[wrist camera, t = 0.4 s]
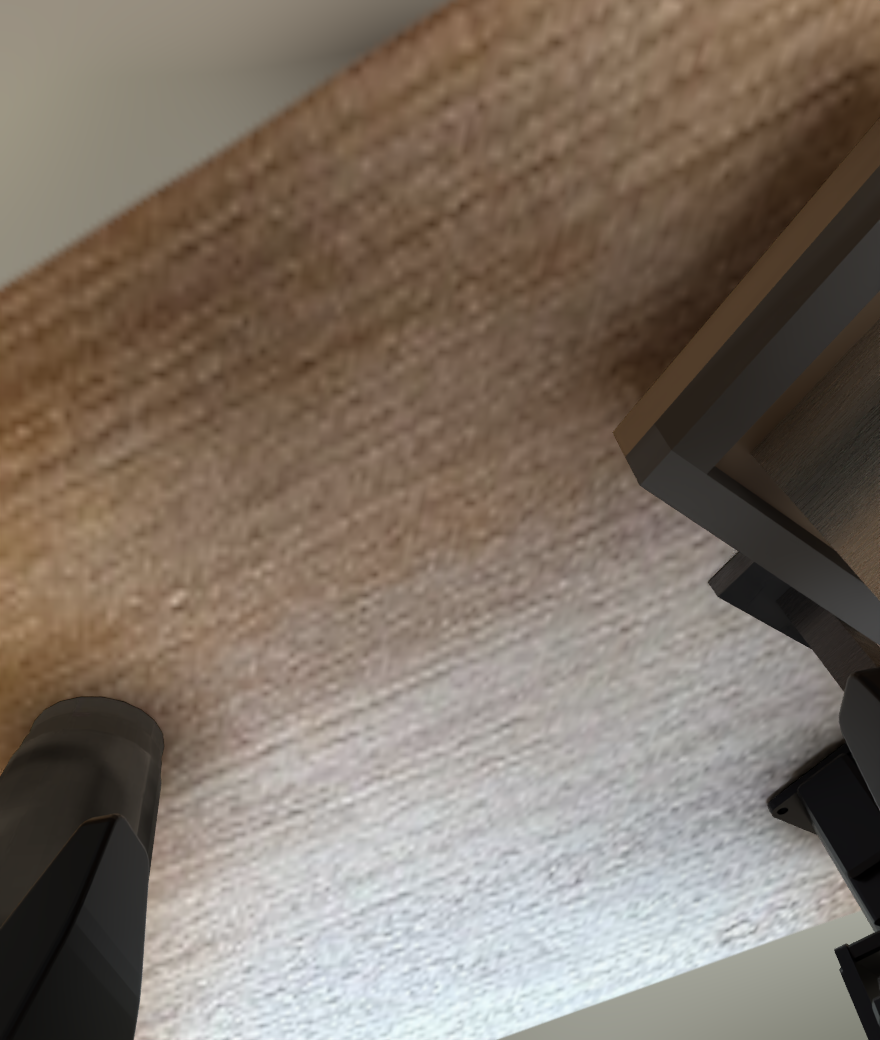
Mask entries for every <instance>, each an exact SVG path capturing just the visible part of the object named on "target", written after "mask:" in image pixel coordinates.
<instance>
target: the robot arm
mask: <svg viewBox="0 0 880 1040" xmlns="http://www.w3.org/2000/svg"><path fill="white" fill-rule="evenodd" d="M839 724H840V728H841V732H842V734H843V737H844V739H845V741H846V743H845V744H844V745H843V746H841V747H840V748H839V749H837V750H836V751H835V752H833V753H832V754H831V755H830V756H828V757H827V758H826V759H824V760H823V761H822V762H820V763H819V764H818V765H817V766H815V767H814V768H813V769H811V770H810V771H809V772H807V773H806V774H805V775H804V776H802V777H801V778H800V779H798V780H797V781H796V782H794V783H793V784H792V785H791V786H789V787H788V788H787V789H785V790H784V791H783V792H782V793H780V794H779V795H778V796H776V797H775V798H774V799H772V800H771V801H770V802H769V803H768V809H769V811H770V812H771V814H772V816H773V817H775V818H777V819H780V820H782V821H785V822H787V823H789V824H792V825H794V826H797V827H799V828H802V829H804V830H807V831H809V832H812V833H814V834H817V835H818V837H819V838H820V840H821V842H822V844H823V845H824V847H825V849H826V850H827V852H828V854H829V855H830V857H831V859H832V861H833V862H834V864H835V866H836V867H837V869H838V871H839V872H840V874H841V876H842V877H843V879H844V881H845V883H846V884H847V886H848V888H849V889H850V891H851V893H852V894H853V896H854V898H855V900H856V901H857V903H858V905H859V906H860V908H861V910H862V911H863V913H864V915H865V917H866V918H867V920H868V922H869V923H870V925H871V927H872V928H873V930H874V931H875V933H873V934H870V935H868V936H866V937H864V938H862V939H860V940H858V941H856V942H854V943H852V944H850V945H848V944H844V945H842V946H840V947H838V948H836V949H835V950H834V951H835V954H836V956H837V958H838V960H839V963H840V966H841V968H840V972H841V975H842V977H843V980H844V982H845V985H846V987H847V989H848V992H849V994H850V997H851V999H852V1001H853V1003H854V1006H855V1009H856V1011H857V1013H858V1016H859V1018H860V1021H861V1023H862V1025H863V1028H864V1030H865V1032H866V1035H867V1037H868V1040H880V667H876V668H870V669H865V670H860V671H855V672H853V673H852V674H851V675H850V676H849V677H848V679H847V683H846V687H845V692H844V696H843V700H842V704H841V709H840V713H839ZM148 881H149V859H148V855H147V851H146V849H145V847H144V846H143V844H142V843H141V841H140V840H139V838H138V837H137V835H136V834H135V832H134V830H133V829H132V827H131V826H130V824H129V823H128V821H127V820H126V818H125V817H124V816H122V815H120V814H110V815H104V816H99V817H94V818H91V819H88V820H86V821H85V822H83V823H82V824H81V825H80V826H79V827H78V829H77V830H76V831H75V832H74V834H73V835H72V836H71V838H70V839H69V840H68V841H67V843H66V844H65V845H64V846H63V848H62V849H61V850H60V852H59V853H58V854H57V855H56V857H55V858H54V859H53V861H52V862H51V863H50V864H49V866H48V867H47V868H46V870H45V871H44V872H43V873H42V875H41V876H40V877H39V878H38V880H37V881H36V882H35V884H34V885H33V886H32V887H31V889H30V890H29V891H28V893H27V894H26V895H25V896H24V898H23V899H22V900H21V902H20V903H19V904H18V905H17V907H16V908H15V909H14V910H13V912H12V913H11V914H10V916H9V917H8V918H7V919H6V921H5V922H4V923H3V925H2V926H1V927H0V1040H134V1035H135V1029H136V1023H137V1017H138V1010H139V1003H140V994H141V983H142V971H143V956H144V941H145V926H146V911H147V896H148Z"/></svg>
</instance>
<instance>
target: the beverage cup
mask: <svg viewBox="0 0 880 1040" xmlns="http://www.w3.org/2000/svg"><path fill="white" fill-rule="evenodd" d="M163 749H164V742H163V734H162V732H161V730H160V729H159V727H158V726H157V724H156V722H155V721H154V720H153V719H152V718H150V717H149V716H148V715H147V714H145V713H144V712H143V711H142V710H140V709H138V708H135V707H133V706H131V705H129V704H127V703H125V702H121V701H117V700H112V699H107V698H103V697H79V698H74V699H70V700H65V701H61V702H59V703H57V704H55V705H53V706H51V707H49V708H47V709H45V710H44V711H43V712H42V713H41V714H40V716H39V717H38V718H37V719H36V720H35V721H34V723H33V726H32V728H31V730H30V733H29V734H28V735H27V736H26V737H25V739H24V741H23V742H22V744H21V746H20V747H19V749H18V750H17V751H16V752H15V753H14V754H13V756H12V757H11V759H10V761H9V762H8V764H7V766H6V768H5V769H4V771H3V773H2V775H1V776H0V927H1V926H2V925H3V923H4V922H5V921H6V919H7V918H8V917H9V916H10V914H11V913H12V912H13V910H14V909H15V908H16V907H17V905H18V904H19V903H20V902H21V900H22V899H23V898H24V896H25V895H26V894H27V893H28V891H29V890H30V889H31V887H32V886H33V885H34V884H35V882H36V881H37V880H38V878H39V877H40V876H41V875H42V873H43V872H44V871H45V870H46V868H47V867H48V866H49V864H50V863H51V862H52V861H53V859H54V858H55V857H56V855H57V854H58V853H59V852H60V850H61V849H62V848H63V846H64V845H65V844H66V843H67V841H68V840H69V839H70V838H71V836H72V835H73V834H74V832H75V831H76V830H77V829H78V827H79V826H80V825H81V824H82V823H83V822H85V821H86V820H88V819H91V818H94V817H99V816H104V815H110V814H120V815H122V816H124V817H125V818H126V820H127V821H128V823H129V824H130V826H131V827H132V829H133V830H134V832H135V834H136V835H137V837H138V838H139V840H140V841H141V843H142V844H143V846H144V847H145V849H146V851H147V855H148V859H149V874H150V867H151V859H152V851H153V844H154V836H155V828H156V821H157V813H158V805H159V798H160V790H161V765H162V762H161V758H162V754H163ZM148 882H149V881H148Z"/></svg>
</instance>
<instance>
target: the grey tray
mask: <svg viewBox="0 0 880 1040" xmlns="http://www.w3.org/2000/svg"><path fill="white" fill-rule="evenodd" d="M879 319H880V118H879V119H878V120H877V121H876V122H875V124H874V125H873V126H872V127H871V128H870V130H869V131H868V132H867V133H866V134H865V135H864V137H863V138H862V139H861V140H860V141H859V142H858V144H857V145H856V146H855V147H854V148H853V150H852V151H851V152H850V153H849V154H848V155H847V157H846V158H845V159H844V160H843V161H842V163H841V164H840V165H839V166H838V167H837V168H836V170H835V171H834V172H833V173H832V174H831V175H830V177H829V178H828V179H827V180H826V181H825V183H824V184H823V185H822V186H821V187H820V188H819V190H818V191H817V192H816V193H815V194H814V195H813V197H812V198H811V199H810V200H809V201H808V203H807V204H806V205H805V206H804V207H803V208H802V210H801V211H800V212H799V213H798V214H797V216H796V217H795V218H794V219H793V220H792V221H791V223H790V224H789V225H788V226H787V227H786V228H785V230H784V231H783V232H782V233H781V234H780V236H779V237H778V238H777V239H776V240H775V241H774V243H773V244H772V245H771V246H770V247H769V249H768V250H767V251H766V252H765V253H764V254H763V256H762V257H761V258H760V259H759V260H758V261H757V263H756V264H755V265H754V266H753V267H752V269H751V270H750V271H749V272H748V273H747V274H746V276H745V277H744V278H743V279H742V280H741V282H740V283H739V284H738V285H737V286H736V287H735V289H734V290H733V291H732V292H731V293H730V294H729V296H728V297H727V298H726V299H725V300H724V302H723V303H722V304H721V305H720V306H719V307H718V309H717V310H716V311H715V312H714V313H713V315H712V316H711V317H710V318H709V319H708V320H707V322H706V323H705V324H704V325H703V326H702V327H701V329H700V330H699V331H698V332H697V333H696V335H695V336H694V337H693V338H692V339H691V340H690V342H689V343H688V344H687V345H686V346H685V348H684V349H683V350H682V351H681V352H680V353H679V355H678V356H677V357H676V358H675V359H674V360H673V362H672V363H671V364H670V365H669V366H668V368H667V369H666V370H665V371H664V372H663V373H662V375H661V376H660V377H659V378H658V379H657V381H656V382H655V383H654V384H653V385H652V386H651V388H650V389H649V390H648V391H647V392H646V393H645V395H644V396H643V397H642V398H641V399H640V401H639V402H638V403H637V404H636V405H635V406H634V408H633V409H632V410H631V411H630V412H629V414H628V415H627V416H626V417H625V418H624V419H623V421H622V422H621V423H620V424H619V425H618V426H617V428H616V429H615V430H614V431H613V434H614V436H615V438H616V440H617V442H618V444H619V446H620V448H621V450H622V452H623V454H624V456H625V458H626V460H627V461H628V463H629V465H630V467H631V469H632V471H633V473H634V475H635V477H636V479H637V481H638V483H639V485H640V486H641V487H643V488H644V489H646V490H647V491H649V492H650V493H652V494H653V495H655V496H656V497H658V498H659V499H661V500H662V501H664V502H665V503H667V504H668V505H670V506H671V507H673V508H674V509H676V510H677V511H679V512H680V513H682V514H683V515H685V516H686V517H688V518H689V519H691V520H692V521H694V522H695V523H697V524H698V525H700V526H701V527H703V528H704V529H706V530H707V531H709V532H710V533H712V534H713V535H715V536H716V537H718V538H719V539H721V540H722V541H724V542H725V543H727V544H728V545H730V546H731V547H733V548H734V549H736V550H737V551H739V552H740V553H742V554H743V555H745V556H746V557H748V558H749V559H751V560H752V561H754V562H755V563H757V564H758V565H760V566H761V567H763V568H764V569H766V570H767V571H769V572H770V573H772V574H773V575H775V576H776V577H778V578H779V579H781V580H782V581H784V582H785V583H787V584H788V585H790V586H791V587H793V588H794V589H796V590H797V591H799V592H800V593H802V594H803V595H805V596H806V597H808V598H809V599H811V600H812V601H814V602H815V603H817V604H818V605H820V606H821V607H823V608H824V609H826V610H827V611H829V612H830V613H832V614H833V615H835V616H836V617H838V618H839V619H841V620H842V621H844V622H845V623H847V624H848V625H850V626H851V627H853V628H854V629H856V630H857V631H859V632H860V633H862V634H863V635H865V636H866V637H868V638H869V639H871V640H872V641H874V642H875V643H877V644H878V645H880V601H879V600H878V598H877V597H876V596H875V595H874V594H873V593H872V592H871V590H870V589H869V588H868V587H867V586H866V585H865V584H864V582H863V581H862V580H861V579H860V578H859V577H858V576H857V574H856V573H855V572H854V571H853V570H852V569H851V568H850V566H849V565H848V564H847V563H846V562H845V561H844V560H843V559H842V557H841V556H840V555H839V554H838V553H837V552H836V551H835V549H834V548H833V547H832V546H831V545H830V544H829V543H828V541H827V540H826V539H825V538H824V537H823V536H822V535H821V533H820V532H819V531H818V530H817V529H816V528H815V527H814V525H813V524H812V523H811V522H810V521H809V520H808V519H807V517H806V516H805V515H804V514H803V513H802V512H801V511H800V509H799V508H798V507H797V506H796V505H795V504H794V503H793V501H792V500H791V499H790V498H789V497H788V496H787V495H786V494H785V492H784V491H783V490H782V489H781V488H780V487H779V486H778V484H777V483H776V482H775V481H774V480H773V479H772V478H771V476H770V475H769V474H768V473H767V472H766V471H765V470H764V468H763V467H762V466H761V465H760V464H759V463H758V462H757V460H756V459H755V458H754V457H753V456H752V455H751V454H750V453H751V452H752V451H753V450H754V449H755V448H756V447H757V446H758V445H759V444H760V443H761V442H762V441H763V440H764V439H765V438H766V437H767V436H768V434H769V433H770V432H771V431H772V430H773V429H774V428H775V427H776V426H777V425H778V424H779V423H780V422H781V421H782V420H783V419H784V418H785V417H786V416H787V415H788V414H789V413H790V412H791V411H792V409H793V408H794V407H795V406H796V405H797V404H798V403H799V402H800V401H801V400H802V399H803V398H804V397H805V396H806V395H807V394H808V393H809V392H810V391H811V390H812V389H813V388H814V387H815V386H816V384H817V383H818V382H819V381H820V380H821V379H822V378H823V377H824V376H825V375H826V374H827V373H828V372H829V371H830V370H831V369H832V368H833V367H834V366H835V365H836V364H837V363H838V362H839V361H840V360H841V358H842V357H843V356H844V355H845V354H846V353H847V352H848V351H849V350H850V349H851V348H852V347H853V346H854V345H855V344H856V343H857V342H858V341H859V340H860V339H861V338H862V337H863V336H864V335H865V333H866V332H867V331H868V330H869V329H870V328H871V327H872V326H873V325H874V324H875V323H876V322H877V321H878V320H879Z"/></svg>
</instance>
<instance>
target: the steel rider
mask: <svg viewBox="0 0 880 1040" xmlns="http://www.w3.org/2000/svg"><path fill="white" fill-rule="evenodd" d="M750 454H751V455H752V456H753V457H754V458H755V459H756V460H757V462H758V463H759V464H760V465H761V466H762V467H763V468H764V470H765V471H766V472H767V473H768V474H769V475H770V476H771V478H772V479H773V480H774V481H775V482H776V483H777V484H778V486H779V487H780V488H781V489H782V490H783V491H784V492H785V494H786V495H787V496H788V497H789V498H790V499H791V500H792V501H793V503H794V504H795V505H796V506H797V507H798V508H799V509H800V511H801V512H802V513H803V514H804V515H805V516H806V517H807V519H808V520H809V521H810V522H811V523H812V524H813V525H814V527H815V528H816V529H817V530H818V531H819V532H820V533H821V535H822V536H823V537H824V538H825V539H826V540H827V541H828V543H829V544H830V545H831V546H832V547H833V548H834V549H835V551H836V552H837V553H838V554H839V555H840V556H841V557H842V559H843V560H844V561H845V562H846V563H847V564H848V565H849V566H850V568H851V569H852V570H853V571H854V572H855V573H856V574H857V576H858V577H859V578H860V579H861V580H862V581H863V582H864V584H865V585H866V586H867V587H868V588H869V589H870V590H871V592H872V593H873V594H874V595H875V596H876V597H877V598H878V600H879V601H880V319H879V320H878V321H877V322H876V323H875V324H874V325H873V326H872V327H871V328H870V329H869V330H868V331H867V332H866V333H865V335H864V336H863V337H862V338H861V339H860V340H859V341H858V342H857V343H856V344H855V345H854V346H853V347H852V348H851V349H850V350H849V351H848V352H847V353H846V354H845V355H844V356H843V357H842V358H841V360H840V361H839V362H838V363H837V364H836V365H835V366H834V367H833V368H832V369H831V370H830V371H829V372H828V373H827V374H826V375H825V376H824V377H823V378H822V379H821V380H820V381H819V382H818V383H817V384H816V386H815V387H814V388H813V389H812V390H811V391H810V392H809V393H808V394H807V395H806V396H805V397H804V398H803V399H802V400H801V401H800V402H799V403H798V404H797V405H796V406H795V407H794V408H793V409H792V411H791V412H790V413H789V414H788V415H787V416H786V417H785V418H784V419H783V420H782V421H781V422H780V423H779V424H778V425H777V426H776V427H775V428H774V429H773V430H772V431H771V432H770V433H769V434H768V436H767V437H766V438H765V439H764V440H763V441H762V442H761V443H760V444H759V445H758V446H757V447H756V448H755V449H754V450H753V451H752V452H751V453H750Z"/></svg>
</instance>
